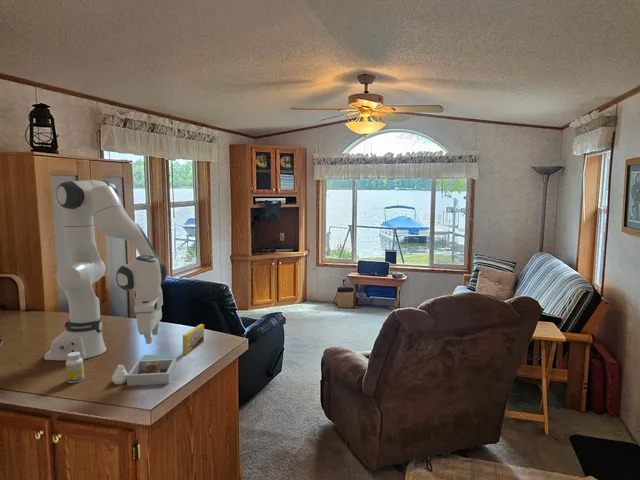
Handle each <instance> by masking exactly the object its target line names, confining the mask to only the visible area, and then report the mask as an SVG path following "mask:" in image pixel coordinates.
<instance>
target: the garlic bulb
mask: <svg viewBox="0 0 640 480" xmlns="http://www.w3.org/2000/svg"><path fill="white" fill-rule="evenodd" d="M128 373H129V372H127V369H126V368H125V366H124V365H123V364H121V365H120V364H118V365H117V368H116V369H115V370H114V371H113V374H112V377H111V381H112V383H113V384H114V385H122V384H125V383H127V375H128Z"/></svg>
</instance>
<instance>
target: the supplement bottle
mask: <svg viewBox="0 0 640 480" xmlns="http://www.w3.org/2000/svg"><path fill="white" fill-rule="evenodd" d="M67 358H68V360H65V372H66V381H67V383H70V384H75V383H76V384H77V383H80V382H82V381H83V380H84V379H85V370H84V368H85V367H84V360H83V359H82V358H80V352H72V353H69V354H67Z"/></svg>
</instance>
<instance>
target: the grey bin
mask: <svg viewBox="0 0 640 480" xmlns="http://www.w3.org/2000/svg"><path fill="white" fill-rule="evenodd" d="M148 361H159V363H160V370H166V371H165V372H160V373H150V374H146V373H140V371H146V370H145V365H146V364H147V362H148ZM176 369H177V358H171V359H159V360H141V359H140V360H139V359H138V360H137V361H136V362H135V363H134V364H133V366H132V368H131V369H130V371H129V372H127V373H128V375H127V382H126V386H128V387H129V386H141V385H142V386H145V385H159V384H160V385H162V384H163V385H164V384H165V385H166V384H170V382H171V380H172V378H173V376H174V374H175V372H176Z"/></svg>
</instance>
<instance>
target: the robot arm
mask: <svg viewBox="0 0 640 480" xmlns="http://www.w3.org/2000/svg"><path fill="white" fill-rule="evenodd" d="M55 192H56V194H55V196H56V200H57V202H58V204H59V205H60V206H61V208H63V211H62V225H63V228H62V229H63V240H64V241H63V242H64V246H65V248H66V249H67V250H68V252H69V253H70V256H71V259H72V261H71V262H67V263H66V264H64V265H63V266H62V267H61V268H59V269H58V270H57V272H56V277H55V278H56V279H55V280H56V283H57V285H58V286H59V287H60V288H61V289H62V290H63V291H64V294H65V296H66V299H67V303H68V310H69V312H68V313H69V319H68V320H67V321H65V323H64V324H63V328H65V330H64V331H63V332H62V333H60V334H59V335H57V336H56V337H55V338H54V339H53V340H52V342H51V344H50V350H48V351H47V352H46V353H45V354H44V355H43V356H44V357H43V358H44V360H45V361H67V360H68V358H67V354H69V353H72V352H80V358H82V359H83V361H84V360H86V359H89V358H93V357H96V356H99V355H102V354H103V353H105V352H106V351H107V347H106V344H105V341H104V338H103V337H104V336H103V322H102V317H101V311H100V310H101V309H100V306H101V305H100V299H99V297H98V296H96V293H95V291H94V288H93V284H94V283H97V282H98V281H99V280H100V279H102V277H103V276H104V275H105V274H106V270H107V268H106V264H105V261H103V260H102V259H101V256H100V253H99V250H98V247H97V243H96V232H95V230H96V229H95V225H96V227H97V229H98V230H99V232H101V233H102V234H104V235H106V236H108V237H111V238H115V239H120V240H123V241H127V242H128V243H130V244H132V245H133V246H134V248H135V249H136V250H137V253H138V256H136V257H135V258H134V259H133V260H132V261H131V262H129V263H126V264H124V265H121V266H119V268H118V269H117V271H116V276H115V280H116V284H117V286H118V287H119V288H121V289H122V290H123V291H135V303H134V307H133V312H134V313H136V325H137V331H138V333H139V335H140V336H141V335H142V336H143V337H144V339H145V344H146V345H151V344H152V342H153V337H152V336H157V335H158V333H159V322H160V321H161V320H162V318H163V312H162V306H163V305H164V301H163V300H164V299H163V298H164V297H163V290H162V286H161V285H163V283H164V282H165V281H166V279H167V277H168V268H167V266H166V264H165V263H164V262H163V261H162V259H161V258H160V257H159V256H158V254H157V252H156V251H155V249H154V247H153V245H152V244H151V242H150V240H149V239H148V237H147V235H146V233H145V231H144V229H143V228H142V227H141V226H140V224H138V223H136V222H135V221H134V220H132V218H130V216H129V215H128V213H127V212H126V209H125V208H124V205H123V203H122V201H121V198H120V197H119V193H118V189H117V187H116V185H115V184H114V183H113V182H112V181H107V180H97V179H96V180H94V179H86V180H75V181H72V180H68V181H64V182H61V183H59V185H58V186H57V187H56V191H55Z"/></svg>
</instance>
